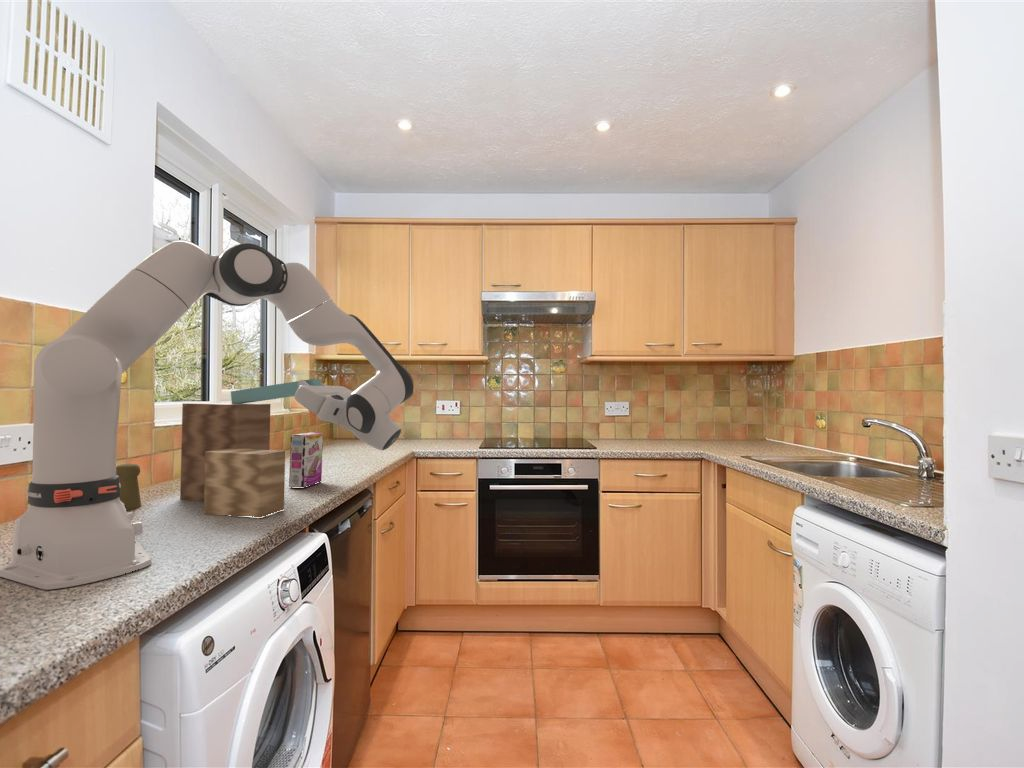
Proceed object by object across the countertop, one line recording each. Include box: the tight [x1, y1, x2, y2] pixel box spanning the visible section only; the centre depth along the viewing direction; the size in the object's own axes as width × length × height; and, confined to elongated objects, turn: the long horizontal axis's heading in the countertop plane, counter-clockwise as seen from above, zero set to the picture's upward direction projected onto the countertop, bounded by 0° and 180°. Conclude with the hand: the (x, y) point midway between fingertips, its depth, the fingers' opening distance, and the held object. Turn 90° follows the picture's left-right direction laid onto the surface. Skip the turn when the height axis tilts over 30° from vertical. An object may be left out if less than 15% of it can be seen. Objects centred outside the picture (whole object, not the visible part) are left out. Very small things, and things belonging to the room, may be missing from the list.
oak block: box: [203, 448, 286, 517], centre depth 121 cm, size 16×8×15 cm, turn 77°
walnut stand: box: [179, 402, 271, 502], centre depth 138 cm, size 18×12×26 cm, turn 77°
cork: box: [116, 463, 142, 511], centre depth 123 cm, size 6×6×11 cm
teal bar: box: [230, 378, 322, 404], centre depth 134 cm, size 26×4×4 cm, turn 76°
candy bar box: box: [288, 432, 324, 488], centre depth 155 cm, size 11×5×16 cm, turn 172°
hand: (306, 382), depth 132 cm, fingers closed on teal bar, 3 cm apart
